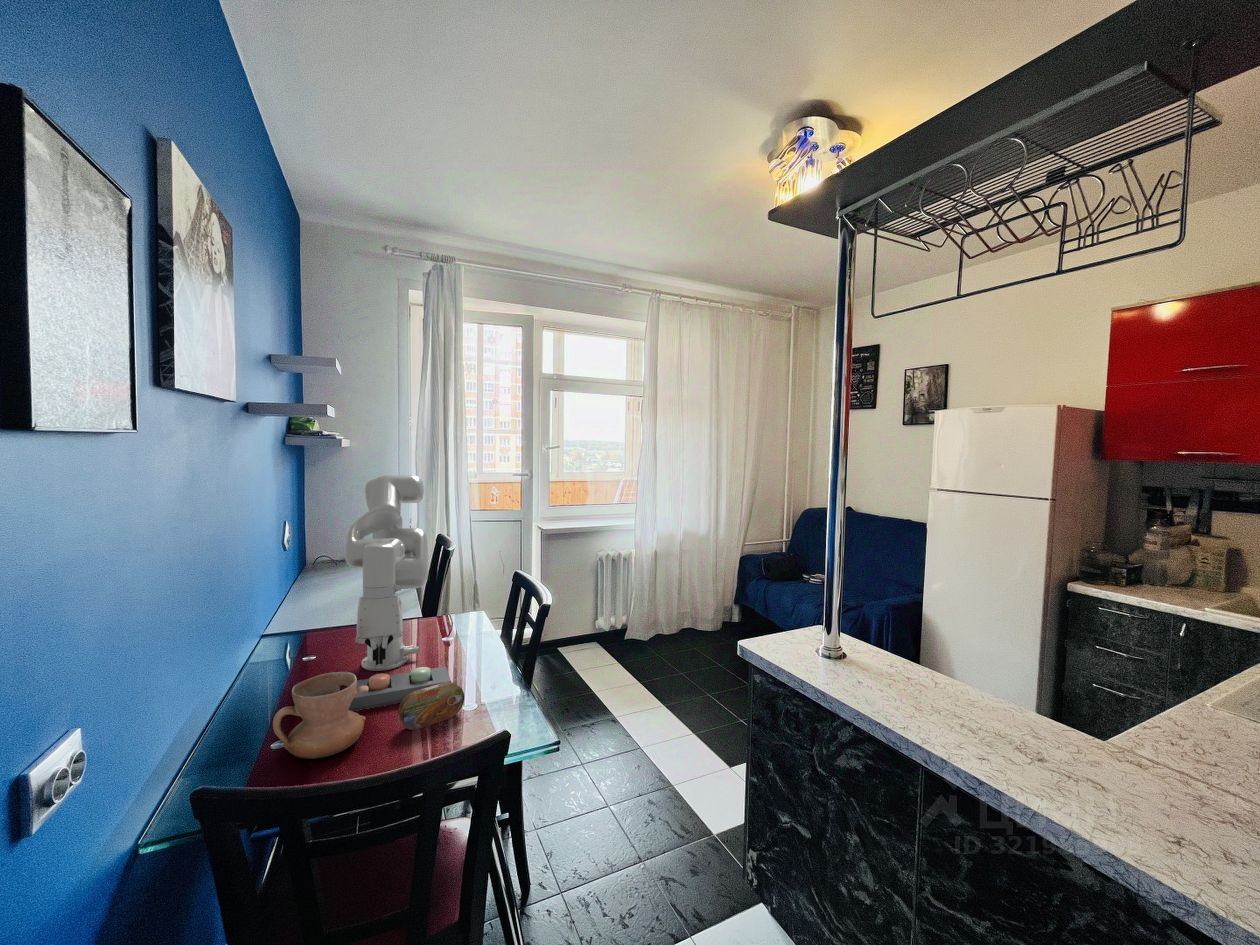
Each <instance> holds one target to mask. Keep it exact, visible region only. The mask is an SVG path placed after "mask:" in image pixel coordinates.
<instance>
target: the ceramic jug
mask: <svg viewBox="0 0 1260 945" xmlns="http://www.w3.org/2000/svg"><path fill="white" fill-rule="evenodd" d="M357 679H358V678H357V676H356V674H354V673H352V672H349V671H337V672H336V671H332V672H327V673H323V674H319V675H316V676H312V677H310V678H307V679H305V680H302V681H300V682H297V683H296V684H295V685H294V686H293V687H292V689H291V697H292V701H293V704H294V706H293V705H290V706H289V705H288V706H287V705H286V706H285V707H282V708H280V709H279V710H278V711H277V712H276V713H275V715H274V716H273V720H272V728H273V732H274V733H275V735H276V736H277V737H278V739H279V740H280V741H281V742H282V743H283V748H284V749H285V750H287V751H288V752H289V754H291V755H293V756H295V757H296V758H297V757H298V758H301V759H309V760H310V759H311V760H312V759H313V760H315V759H322V758H328V757H330V756H334V755H336V754H339V753H341V752H343V751H344V750H346V749H348V748H350V747H352V746H353V745H354V744H355V743H356V742H357V741H358V740H359V738H360V737H361V735H362V733H363V731H364V726H365V722H366V716H364V715H360V714H359V713H358V712H353V711H350V710H348V709H349V707H350V705H351V702H352V700H353V698H354V697H355V696H357V695H358V694H360V693H362V692H366V693H367V692H368V689H369V687H368V686H360V687H358V688H356V685H357V681H358V680H357ZM341 686H346V688H344V689H342V690H341V689H340V688H341ZM286 715H293V716H296V717H300V718H301V719H302V721H301V722H299V723H298V724H296V726H295V727H293V729H291V731H290V732H289V734H288V736H287V735H286V734H285V732H284V731H283V729H282V719H283V717H285V716H286Z"/></svg>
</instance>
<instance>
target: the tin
mask: <svg viewBox="0 0 1260 945" xmlns="http://www.w3.org/2000/svg"><path fill="white" fill-rule="evenodd" d="M464 702H465V692H464V690H463V688H462V686H460V685H457V684H456V683H454V682H452V681H451V682H444V683H441V684H437V685H434V686H431V687H427V688H424V689H420V690H417V691H414V692H411V693H410V694H408V695H407V696H406V697H405V698H404V699H403V700H402V702H401V703H400V704H399V706H398V711H397V714H398V718H399V721H400V722H401V724H402V726H403V727H405V728H406V729H407V730H412V731H414V730H415V731H416V730H420V729H423V728H425V727H426V728H427V727H429V726H431V725H434V724H438V723H440V722H443V721H446V720H449V719H451V718H454V716H456V715H458V713H459V712H460V711H461V709H462V708H463V706H464Z"/></svg>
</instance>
